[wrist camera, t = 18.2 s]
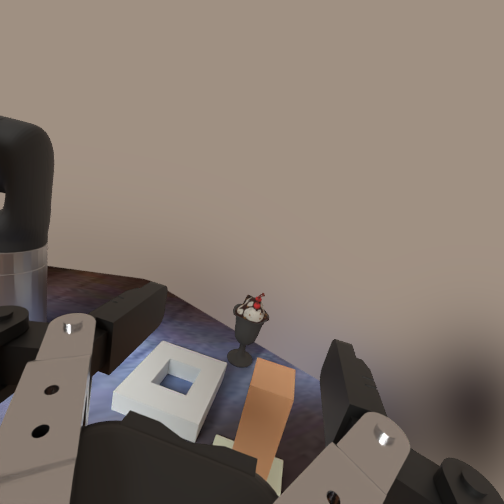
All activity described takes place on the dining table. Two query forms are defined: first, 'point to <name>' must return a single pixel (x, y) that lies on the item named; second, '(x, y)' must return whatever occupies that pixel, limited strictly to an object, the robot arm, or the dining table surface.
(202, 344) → the dining table surface
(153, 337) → the dining table surface
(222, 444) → the pad
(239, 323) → the sundae
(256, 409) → the peg
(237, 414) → the dining table surface
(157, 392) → the socket block
